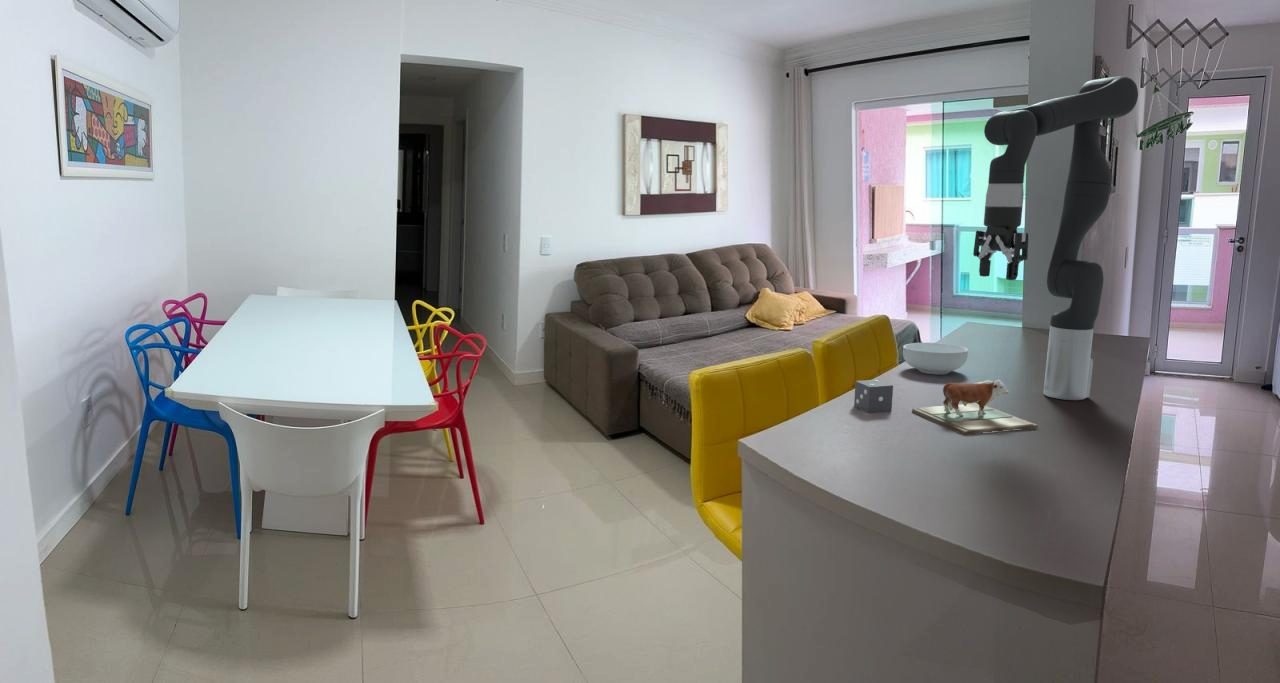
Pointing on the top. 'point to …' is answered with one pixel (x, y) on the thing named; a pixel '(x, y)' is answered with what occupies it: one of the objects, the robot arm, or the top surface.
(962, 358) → the cereal bowl
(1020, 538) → the top surface
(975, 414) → the paneled room divider
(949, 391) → the bull figurine
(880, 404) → the die
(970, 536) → the top surface
